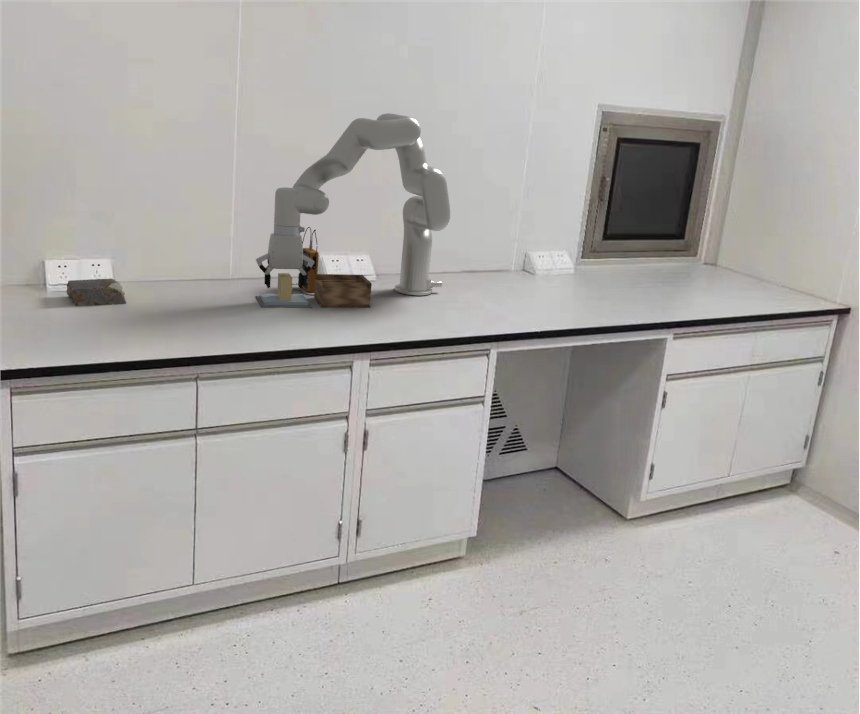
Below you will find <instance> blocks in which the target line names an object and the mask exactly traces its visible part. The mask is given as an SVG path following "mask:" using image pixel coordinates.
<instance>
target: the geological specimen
mask: <svg viewBox="0 0 860 714" xmlns="http://www.w3.org/2000/svg"><path fill="white" fill-rule="evenodd" d="M66 294H67V296H68V298H71V299H72V300H73V304H74V306H75V307H88V306H90V307H92V306H107V305H108V306H109V305H112V304H114V305H127V300H126V297H125V295H126V294H125V291H124V290H123V287H122V285H121V283H120V282H119V281H117V280H116V279H113V278H97V279H93V278H92V279H76V280H68V281H67V284H66ZM112 306H113V305H112Z"/></svg>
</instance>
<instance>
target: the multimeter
mask: <svg viewBox="0 0 860 714" xmlns="http://www.w3.org/2000/svg"><path fill="white" fill-rule="evenodd" d="M308 229H309V231H312V228H311V227H310V226H308V227H307V228H305V231H304V234H303V238H302V244H303V245H304V242H305V241H304V240H305V237H306V234H307V231H308ZM316 231H317V229H314V230H313V231H312V232H311V236H310V238H309V239H310V240H309V245H308V246H309V247H303V255H305V256H307V257H309V258H311V259H312V260H314V264H313V266H312V267H311V270H310V271H308V272H307V273H306V275H305V279H304V285H302V288H301V289H304V290H305V291H307V292H308V293H305V292H302V290H301V289H295V288H292V291H299V292H300V294H303V295H307V296H311V293H315V274H319V273H318V271H319V269H318V268H319V253H320V252H319V251H318V247H316V249H313V239H312V237H313V235H314V236H315V237H314V238H315V240H316V241H315V243H316V244H318V239H317V238H318V237H317V233H316ZM307 265H308V262H307V261H305V260H303V266H302V268H303V269H304V268H305V267H306V266H307ZM309 293H310V294H309Z"/></svg>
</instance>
